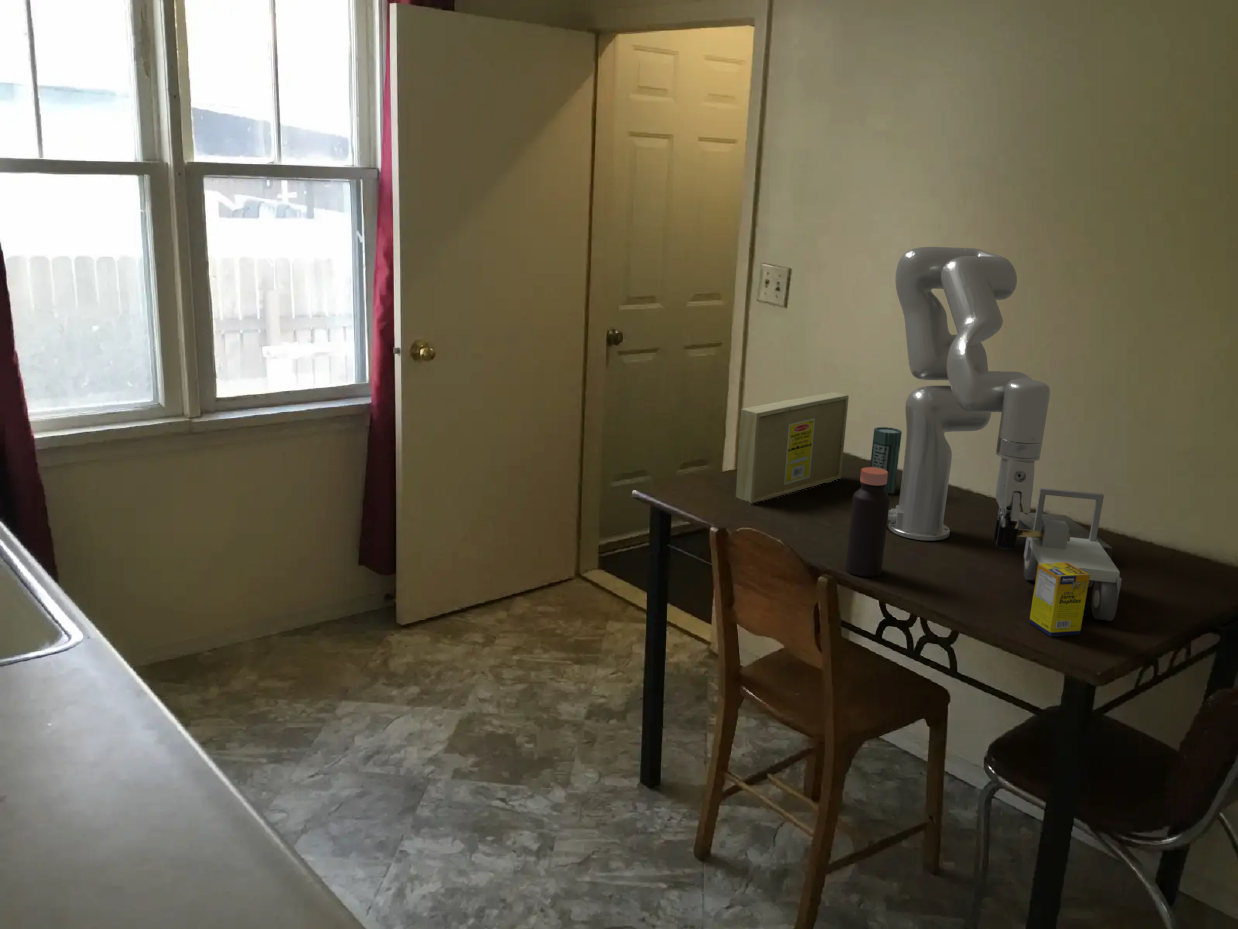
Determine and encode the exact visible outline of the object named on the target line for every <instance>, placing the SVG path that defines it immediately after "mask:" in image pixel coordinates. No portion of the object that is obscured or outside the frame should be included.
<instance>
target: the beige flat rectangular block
mask: <svg viewBox="0 0 1238 929" xmlns="http://www.w3.org/2000/svg"><path fill="white" fill-rule="evenodd" d="M849 397H850V396H849V395H848V394H845V393H841V392H837V391H836V392H835V391H831V392H826V393H821V394H815V395H809V396H802V397H798V398H792V399H785V400H781V401H776V402H772V403H771V402H770V403H766V404H760V405H756V406H749V407H745V408H741V411H740V421H739V422H740V424H739V440H738V441H739V442H738V454H737V455H738V456H737V472H736V485H735V486H736V487H735V488H736V490H735V498H736V497H737V498H739V499H741V500H745V501H748V502H750V503H752V502H756V501H758V500H764V499H766V498H769V497H772V496H778V495H781V494H783V493H789V492H792V491H795V490H801V489H804V488H807V487H811V486H816V485H819V484H822V483H826V484H829V483H832V481H833V482H835V481H834V480H836V481H838V480H837V479H840V480H841V478H842V468H843V460H844V458H843V457H844V450H845V448H844V447H845V437H846V428H847V419H848V418H847V417H848V409H849V408H848V406H849ZM819 486H820V485H819ZM816 487H817V486H816Z"/></svg>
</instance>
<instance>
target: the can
mask: <svg viewBox="0 0 1238 929" xmlns="http://www.w3.org/2000/svg"><path fill="white" fill-rule="evenodd" d="M872 437H873V438H872V447H871V454H870V463H869V467H875V468H881V469H884V470H886V471H888V478H887V484H886V487H885V488H884V491H885V492H886V493H892V494H895V490H896V481H897V474H898V468H899V467H898V465H899V458H900V449H901V441H902V430H901V429H898V428H894V427H888V426H878V427H875V428H874V429H873V436H872Z"/></svg>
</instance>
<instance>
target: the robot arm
mask: <svg viewBox="0 0 1238 929" xmlns="http://www.w3.org/2000/svg"><path fill="white" fill-rule="evenodd" d="M1017 282H1018V276H1017V272H1016V268H1015V267H1014V264H1013V263H1012V262H1011V261H1010V260H1009V259H1008V258H1006V257H1005V256H1002V255H998V254H996V253H995V254H994V253H992V252H989V251H986V250H983V249H979V248H971V247H951V246H948V247H947V246H945V247H944V246H922V247H916V248H912V249H909V250H907V251H905V252H904V253H903V254H902V256H901V257H900V259H899V260H898V262H897V266H896V270H895V290H896V294H897V297H898V302H899V305H900V306H901V310H902V313H903V318H904V324H905V325H904V326H905V336H906V347H907V350H906V351H907V357H908V367H909V370H910V372H911V374H912V376H913V377H914V378H916V379H918V380H923V381H948V382H949V385H925V386H921V387H917V388H915V389H914V390H913V391H911V392H910V393H909V394H908V396H907V398H906V401H905V422H906V423H905V424H906V432H905V433H906V434H905V435H906V438H905V449H904V458H903V459H904V460H903V468H902V473H901V474H902V475H901V483H900V490H899V491H900V493H899V498H898V499H899V500H898V504H896V506H895V508H890V509H889V513H888V529H889V530H890V531H891V532H892V533H893V534H896V535H897V536H900V537H903V538H907V539H912V540H917V541H933V542H934V541H941V540H942V541H943V540H945V539H948V537H949V536H950V532H951V530H950V528H949V526H947V525H945V524H944V519H945V511H946V506H947V505H946V503H947V496H948V491H949V490H948V489H949V484H950V483H949V482H950V473H951V468H952V467H951V465H952V460H953V453H952V448H951V446H950V443H949V442H948V440H947V438H946V436H945V433H950V432H954V433H955V432H956V433H957V432H978V431H980V430H983V429H984V428H985V427H986V426H987V425H988V424H989V422H990V420H991V416H992V413H1001V414H1000V421H999V428H998V434H997V435H998V437H997V443H996V449H995V454H996V456H998V457H1000V460H999V467H998V473H997V481H996V489H995V499H996V503H997V504H998V506H999V507H998V511H997V519H996V522H995V527H994V535H993V539H994V542H995V541H996V542H997V546H996V547H997V548H999V547H1000V548H999V549H1002V548H1010V549H1009V550H1011V549H1012V550H1014V549H1016V545H1017V541H1016V539H1017V533H1018V524H1019V516H1020V512H1024V513H1025V514H1026V515H1027V514H1029V513H1031V507H1032V500H1033V490H1034V479H1035V462H1037V461H1039V460H1040V458H1041V453H1042V447H1043V439H1044V434H1045V433H1044V432H1045V427H1046V422H1047V415H1048V409H1049V402H1050V396H1051V391H1050V390H1051V389H1050V387H1049V385H1048V384H1047V383H1045V382H1043V381H1039V380H1036V379H1035V380H1034V379H1032V378H1031V377H1030V376H1029V375H1027V374H1025V373H1023V372H1020V371H1000V370H998V371H997V370H991V371H990V370H989V365H988V357H987V352H986V349H985V346H984V345H983V343H982V342H985V341H986V340H988V339H990V338H992V337H993V336H995V335H996V334H997V333H998V332H999V331H1000V330H1001V328H1002V326H1003V324H1004V323H1003V322H1004V320H1003V315H1002V313H1001V310H1000V306H999V305H998V302H997V300H998V301H1002V300H1005V299H1008V298H1010V297H1011V296H1012V295H1013V293H1014V292H1015V291H1016V287H1017V284H1018V283H1017ZM932 289H937V290H943V291H944V295H945V298H946V301H947V304H948V307H949V311H950V313H951V317H952V319H953V322H954V326H955V328H956V332H957V334H952V333H951V332H950V330H949V326H948V316H947V311H946V309H945V307H944V306H943V304H942V302H941V301H940V299H939V298H938V297H937V296H936V295H935V294H934V293H933V291H932ZM1001 514H1003V516H1002V523H1001V526H999V522H1000V515H1001ZM1007 515H1010V516H1007ZM998 528H999V532H998ZM997 535H998V538H997Z"/></svg>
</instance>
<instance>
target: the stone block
mask: <svg viewBox="0 0 1238 929" xmlns="http://www.w3.org/2000/svg"><path fill="white" fill-rule="evenodd" d="M1035 516H1036V512H1030V513H1029V514H1027V515H1026V514H1025V513H1024V512H1023V511H1020V516H1019V524H1018V529H1027V530H1033V528H1034V522H1035ZM1042 519H1047V520H1057V521H1065V522H1066V524H1067V526H1068V527H1069V533H1068V534H1070V537H1073V538H1083V539H1089V536H1090V530H1088V529H1086V528H1085V527H1084V526H1082V525H1080V524H1079V523H1078V522H1077V521H1075V520H1073V519H1072V518H1071V517H1069V516H1067V515H1066V514H1055V513H1054V514H1053V513H1052V514H1051V513H1043V515H1042ZM1040 528H1041V527H1040ZM1026 539H1027V537H1020V536H1017V539H1016V543H1017V542H1018V543H1019V544H1020V545H1021V546H1023V547H1024V548H1025V545H1026ZM1096 540H1098V542H1099V543H1100V544H1101V546H1102V547H1103V549H1104V550H1105V552H1106V553H1107V554H1108V556H1109V557H1110V559H1111V560H1112V556H1113V550H1114V547H1113V546H1111V545H1110V544H1108V542H1106V541H1104V540H1103V539H1101V538H1100V537H1098V536H1097V537H1096Z"/></svg>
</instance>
